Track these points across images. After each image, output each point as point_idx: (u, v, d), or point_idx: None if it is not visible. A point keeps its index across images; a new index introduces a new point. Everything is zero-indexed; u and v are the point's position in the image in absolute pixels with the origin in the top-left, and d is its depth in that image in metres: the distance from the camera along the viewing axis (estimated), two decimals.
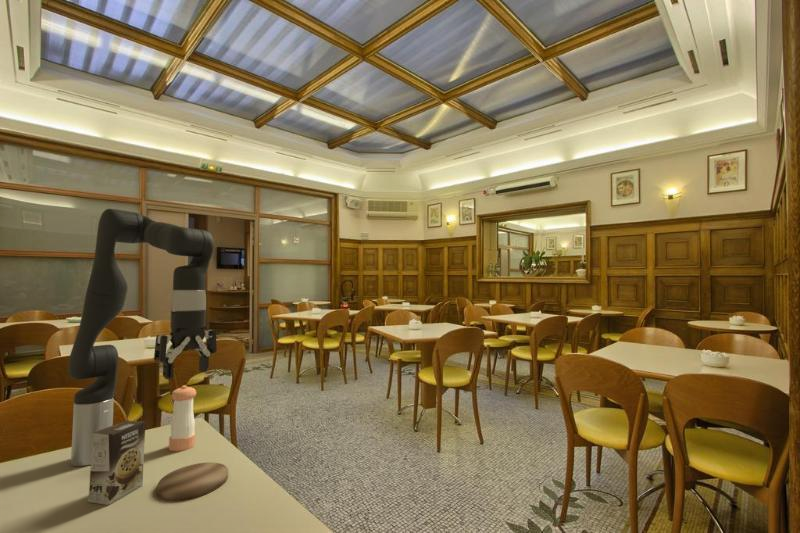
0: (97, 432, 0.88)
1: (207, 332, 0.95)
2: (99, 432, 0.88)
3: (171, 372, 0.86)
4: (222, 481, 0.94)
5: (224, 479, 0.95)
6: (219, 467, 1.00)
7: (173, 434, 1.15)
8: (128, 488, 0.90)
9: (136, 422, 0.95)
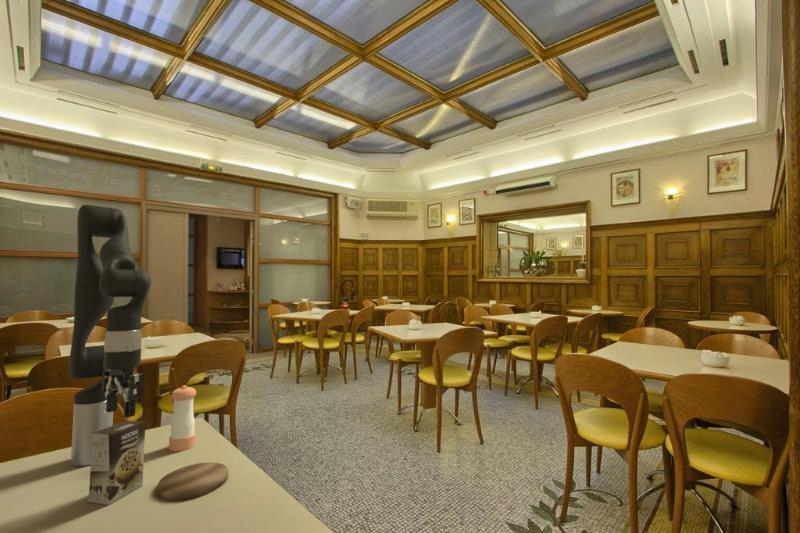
0: (97, 432, 0.88)
1: None
2: (99, 432, 0.88)
3: None
4: (222, 481, 0.94)
5: (224, 479, 0.95)
6: (219, 467, 1.00)
7: (173, 434, 1.15)
8: (128, 488, 0.90)
9: (136, 422, 0.95)
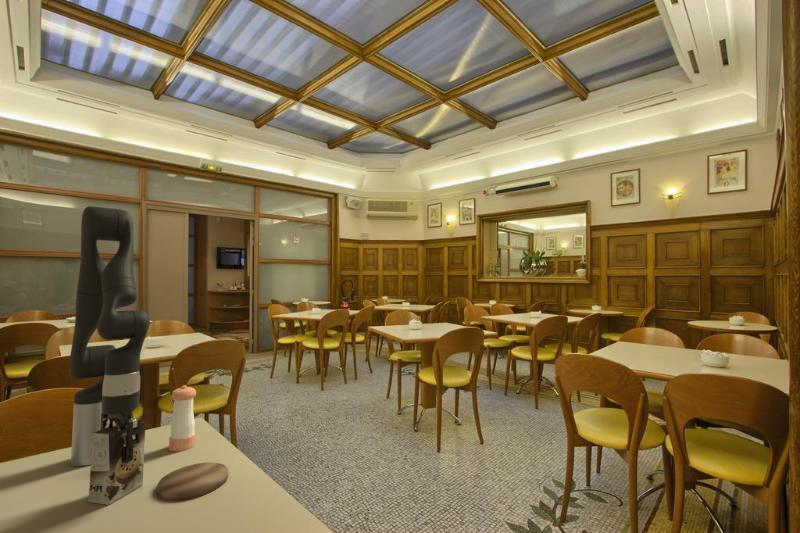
0: (98, 432, 0.88)
1: None
2: (99, 432, 0.88)
3: None
4: (222, 481, 0.94)
5: (224, 479, 0.95)
6: (219, 467, 1.00)
7: (173, 434, 1.15)
8: (128, 488, 0.90)
9: None
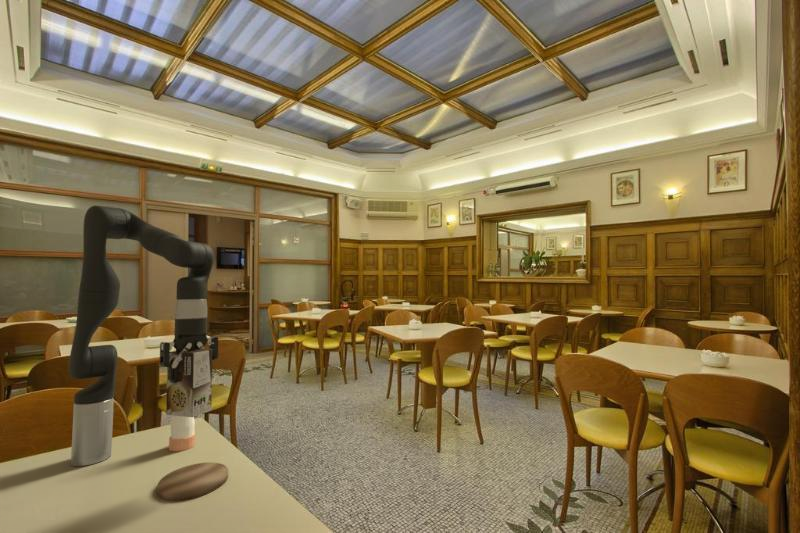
0: (197, 351, 0.94)
1: None
2: (196, 351, 0.94)
3: None
4: (222, 481, 0.94)
5: (224, 479, 0.95)
6: (219, 467, 1.00)
7: (173, 434, 1.15)
8: None
9: None
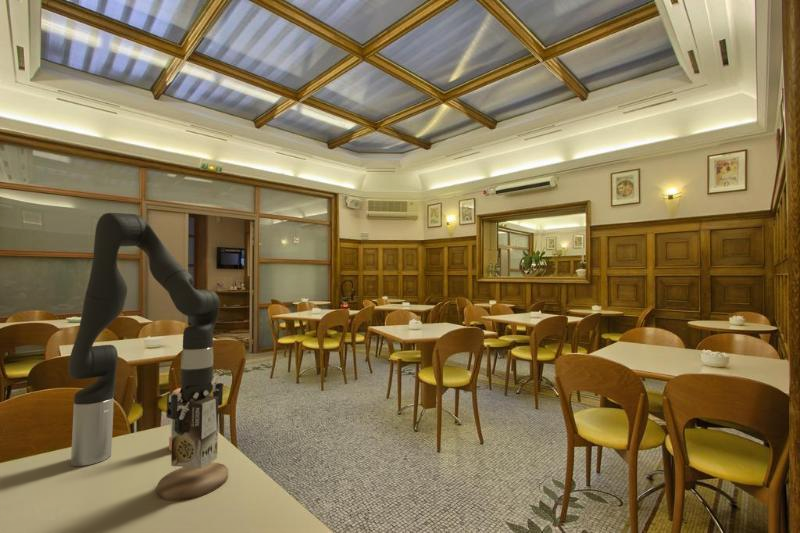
0: (205, 402, 0.94)
1: None
2: (204, 401, 0.94)
3: None
4: (222, 481, 0.94)
5: (224, 479, 0.95)
6: (219, 467, 1.00)
7: None
8: None
9: None
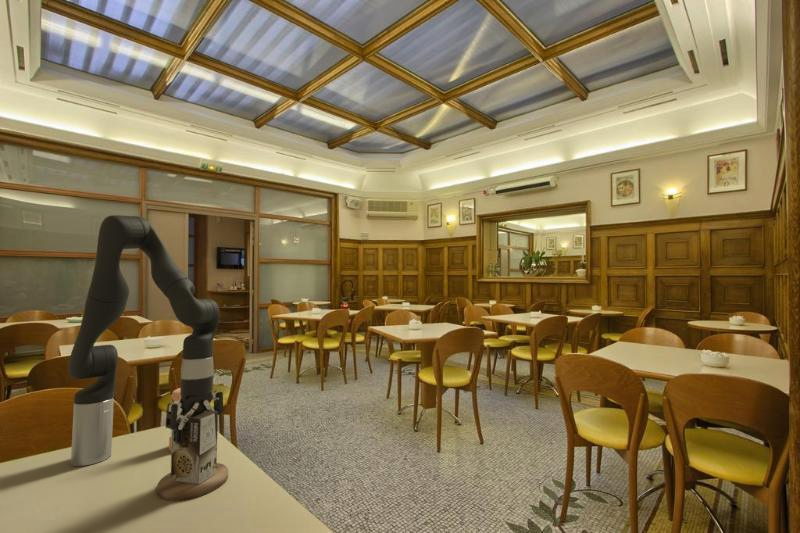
0: (203, 417, 0.94)
1: None
2: (203, 417, 0.94)
3: None
4: (222, 481, 0.94)
5: (224, 479, 0.95)
6: (219, 467, 1.00)
7: None
8: None
9: None
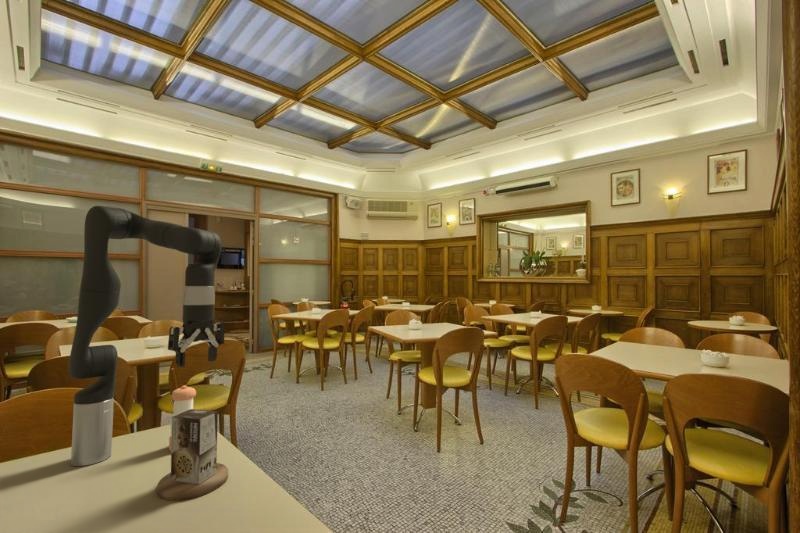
0: (203, 417, 0.94)
1: None
2: (203, 417, 0.94)
3: None
4: (222, 481, 0.94)
5: (224, 479, 0.95)
6: (219, 467, 1.00)
7: None
8: None
9: (189, 411, 0.99)
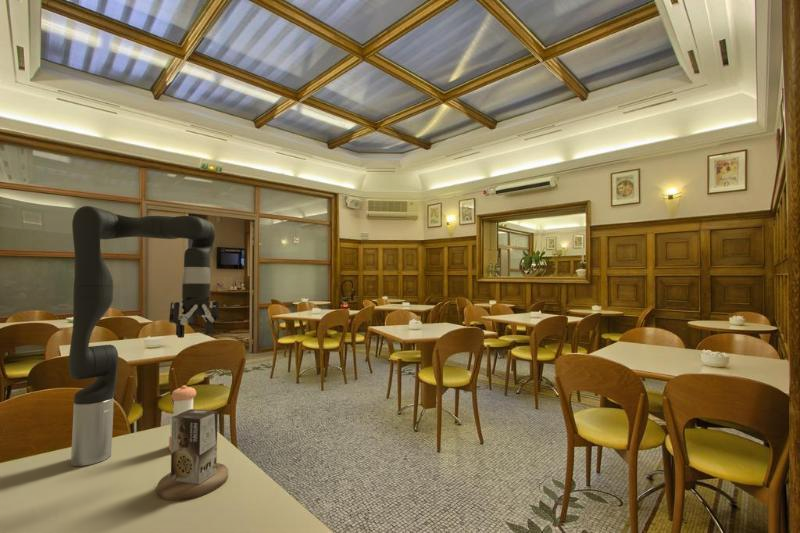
0: (203, 417, 0.94)
1: None
2: (203, 417, 0.94)
3: None
4: (222, 481, 0.94)
5: (224, 479, 0.95)
6: (219, 467, 1.00)
7: None
8: None
9: (189, 411, 0.99)
